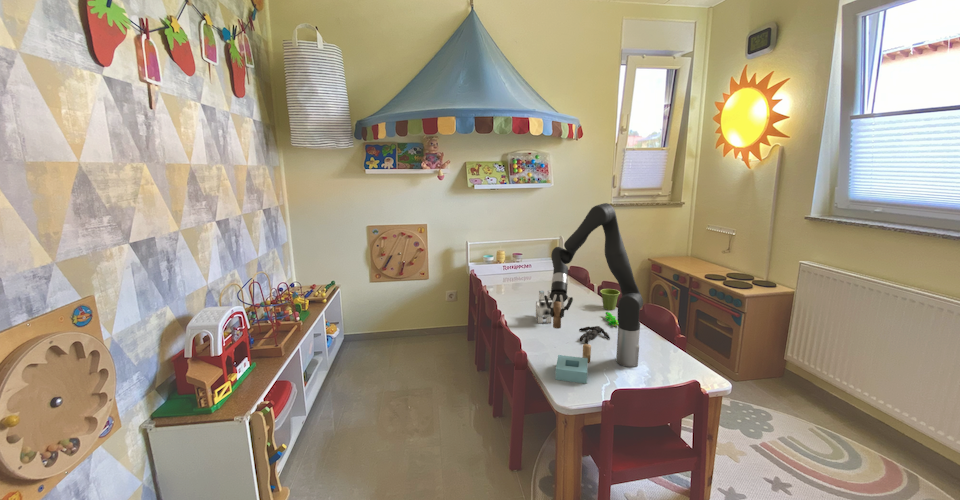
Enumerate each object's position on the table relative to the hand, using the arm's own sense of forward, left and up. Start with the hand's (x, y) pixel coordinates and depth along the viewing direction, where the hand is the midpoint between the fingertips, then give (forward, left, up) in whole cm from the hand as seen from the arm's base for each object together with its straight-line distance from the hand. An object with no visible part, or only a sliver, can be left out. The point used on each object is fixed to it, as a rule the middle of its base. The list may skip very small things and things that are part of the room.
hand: (556, 316), depth 179 cm
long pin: (0, -2, -6) cm, 6 cm away
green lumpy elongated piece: (-27, -54, -22) cm, 64 cm away
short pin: (-14, -2, -22) cm, 26 cm away
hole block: (-8, +11, -22) cm, 26 cm away
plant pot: (-27, -77, -22) cm, 84 cm away
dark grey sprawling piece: (-17, -31, -22) cm, 42 cm away
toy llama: (+11, -46, -22) cm, 52 cm away
